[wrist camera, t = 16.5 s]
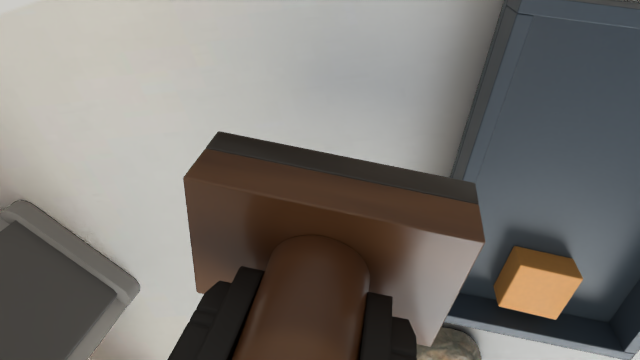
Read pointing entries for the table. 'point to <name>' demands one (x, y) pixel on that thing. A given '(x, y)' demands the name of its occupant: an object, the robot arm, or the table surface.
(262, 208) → the rubber stamp
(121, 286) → the alarm clock
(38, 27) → the table surface
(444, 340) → the elongated rock
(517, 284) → the orange squat block
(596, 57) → the tray
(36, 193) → the table surface
